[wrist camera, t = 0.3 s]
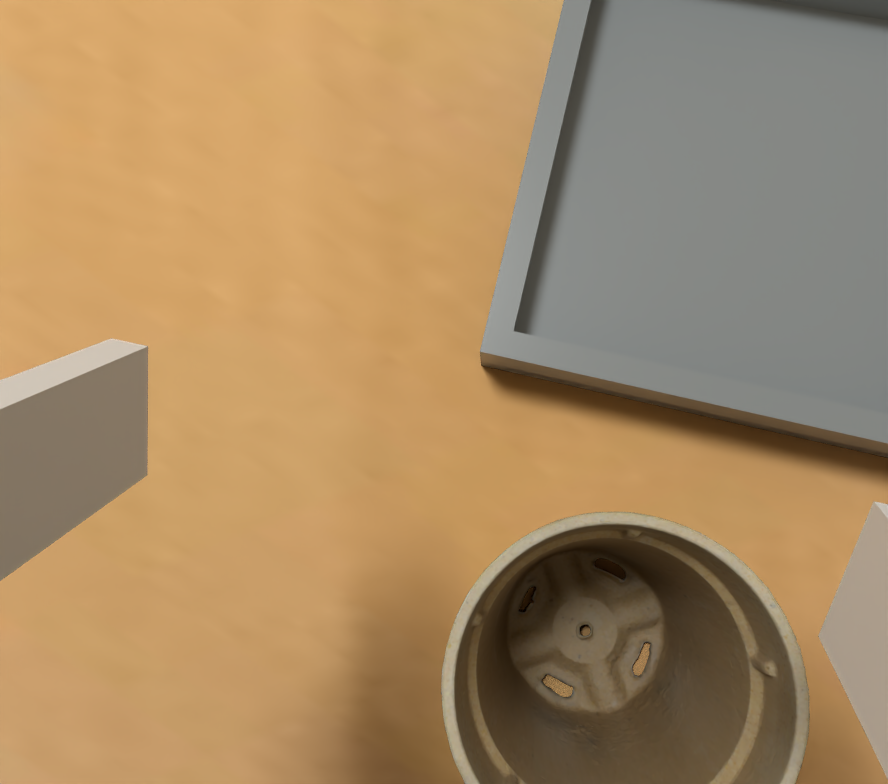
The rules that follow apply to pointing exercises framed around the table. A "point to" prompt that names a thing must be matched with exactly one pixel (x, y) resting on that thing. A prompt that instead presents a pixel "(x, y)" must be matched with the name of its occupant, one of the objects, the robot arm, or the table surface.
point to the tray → (709, 215)
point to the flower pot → (623, 663)
